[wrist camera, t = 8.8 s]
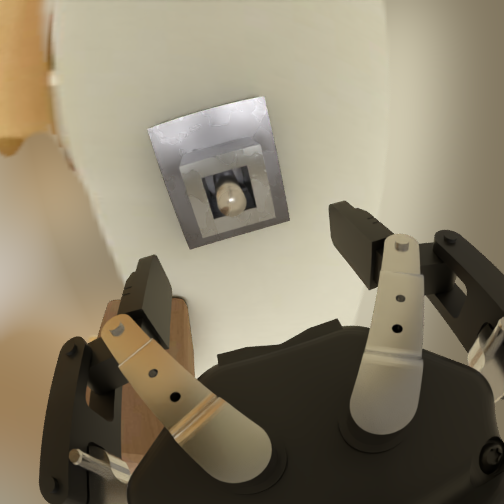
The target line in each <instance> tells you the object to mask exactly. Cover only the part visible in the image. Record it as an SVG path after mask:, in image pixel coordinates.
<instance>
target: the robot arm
mask: <svg viewBox="0 0 504 504" xmlns="http://www.w3.org/2000/svg"><path fill="white" fill-rule="evenodd" d="M329 219H330V231H331V238H332V242H333V244H334V246H335V247H336V249H337V250H338V251H339V252H340V254H341V255H342V256H343V257H344V259H345V260H346V261H347V262H348V264H349V265H350V266H351V267H352V269H353V270H354V271H355V272H356V274H357V275H358V276H359V278H360V279H361V280H362V281H363V283H364V284H365V285H366V287H367V288H368V289H369V290H371V289H374V288H376V287H378V289H377V295H376V301H375V306H374V311H373V316H372V321H371V326H370V328H367V327H361V326H341V324H340V322H339V320H338V319H334V320H332V321H329V322H326V323H323V324H320V325H317V326H314V327H311V328H309V329H307V330H305V331H303V332H302V333H300V334H298V335H296V336H295V337H293V338H291V339H289V340H288V341H286V342H284V343H282V344H279V345H269V346H255V347H245V348H241V349H238V350H234V351H230V352H226V353H222V354H218V355H217V358H218V364H217V365H215V366H213V367H212V368H210V369H208V370H207V371H206V372H204V373H203V374H202V375H201V376H200V377H199V378H198V379H196V378H195V377H194V376H192V375H191V374H190V373H189V372H188V371H187V370H186V369H185V368H184V367H182V366H181V365H180V364H179V363H178V362H177V361H176V360H175V359H174V358H173V357H172V356H171V355H170V354H169V353H168V352H167V351H165V350H166V349H169V342H170V321H171V305H172V288H171V285H170V282H169V280H168V278H167V276H166V274H165V272H164V270H163V268H162V265H161V263H160V261H159V259H158V257H157V256H156V255H151V256H148V257H145V258H142V259H139V262H138V265H137V269H136V272H133V273H132V274H131V275H130V276H129V278H128V279H127V281H126V284H125V287H124V291H123V294H122V295H123V296H122V298H121V301H120V305H119V309H118V312H117V316H114V317H113V318H111V319H110V320H109V321H107V322H106V324H105V325H104V327H103V328H102V331H101V337H100V338H98V339H96V340H94V341H92V342H90V343H88V344H87V343H86V341H85V340H84V339H83V338H82V337H74V338H71V339H70V340H68V341H67V342H66V343H65V344H64V345H63V347H62V349H61V351H60V354H59V357H58V361H57V365H56V368H55V373H54V377H53V381H52V385H51V390H50V394H49V399H48V405H47V410H46V416H45V422H44V429H43V437H42V445H41V456H40V473H39V486H40V491H41V494H42V495H43V497H44V499H45V500H46V501H47V502H49V503H50V504H504V442H503V441H502V439H501V437H500V435H499V431H498V427H497V422H496V417H495V402H497V401H498V400H499V399H504V275H503V274H502V273H501V272H500V271H499V270H498V269H497V268H496V267H495V266H494V265H493V264H492V263H491V262H490V261H489V260H488V259H487V258H486V257H485V256H484V255H482V253H480V252H479V251H478V250H477V249H476V248H475V247H474V246H473V245H471V244H470V243H469V242H468V241H467V240H466V239H464V238H463V237H462V236H461V235H460V234H458V233H456V232H454V231H450V230H441V231H438V232H437V233H436V234H435V237H434V242H433V243H423V244H418V242H417V241H416V239H414V238H413V237H411V236H409V235H406V234H394V233H392V232H391V231H390V230H389V229H388V228H386V227H385V226H384V225H383V224H382V223H381V222H379V221H378V220H377V219H376V218H374V217H373V216H372V215H371V214H370V213H368V212H367V211H364V210H362V209H359V208H356V209H355V208H354V207H353V206H351V205H350V204H349V203H348V202H346V201H341V202H337V203H333V204H330V205H329ZM456 276H458V277H459V278H460V279H461V281H462V282H463V283H464V284H465V286H466V289H467V296H466V295H465V294H464V293H463V291H462V290H461V289H460V288H459V287H458V286H457V285H456V283H455V280H456ZM424 295H426V296H427V297H428V298H429V300H430V301H431V302H432V304H433V305H434V306H435V308H436V309H437V310H438V311H439V313H440V314H441V316H442V317H443V318H444V320H445V321H446V322H447V324H448V325H449V326H450V328H451V329H452V330H453V332H454V333H455V335H456V336H457V338H458V339H459V341H460V342H461V344H462V345H463V347H464V348H465V350H466V351H467V352H468V363H469V366H467V365H464V364H462V363H459V362H456V361H454V360H451V359H448V358H446V357H443V356H440V355H438V354H435V353H433V352H430V351H427V350H425V349H422V345H423V329H424ZM127 383H130V384H131V386H132V387H133V388H134V390H135V391H136V392H137V393H138V395H139V396H140V397H141V399H142V400H143V401H144V402H145V404H146V405H147V406H148V407H149V409H150V410H151V411H152V412H153V414H154V415H155V416H156V417H157V418H158V419H159V421H160V422H161V423H162V424H163V425H164V428H163V429H162V431H161V432H160V434H159V435H158V437H157V438H156V440H155V441H154V442H153V444H152V445H151V447H150V448H149V450H148V451H147V453H146V454H145V456H144V457H143V458H142V460H141V461H140V463H139V464H138V466H137V467H136V469H135V470H134V471H133V473H132V474H130V471H129V468H128V466H127V464H126V463H125V462H124V461H123V460H122V455H121V407H122V386H123V385H125V384H127ZM87 386H88V387H89V388H90V389H91V392H90V401H89V406H88V404H87V402H86V389H87Z"/></svg>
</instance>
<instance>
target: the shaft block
mask: <svg viewBox="0 0 504 504" xmlns="http://www.w3.org/2000/svg"><path fill="white" fill-rule="evenodd" d="M147 131H148V134H149V137H150V140H151V143H152V146H153V149H154V152H155V155H156V158H157V161H158V164H159V167H160V170H161V173H162V176H163V179H164V182H165V185H166V187H167V190H168V193H169V196H170V199H171V201H172V204H173V207H174V210H175V212H176V215H177V218H178V220H179V223H180V226H181V228H182V231H183V233H184V236H185V238H186V241H187V244H188V246H189V249H193V248H197V247H200V246H203V245H207V244H210V243H214V242H217V241H220V240H224V239H227V238H231V237H234V236H237V235H241V234H244V233H248V232H251V231H255V230H258V229H262V228H265V227H269V226H272V225H276V224H279V223H283V222H287V221H290V218H289V213H288V207H287V202H286V196H285V191H284V186H283V181H282V176H281V171H280V166H279V161H278V156H277V151H276V146H275V141H274V137H273V132H272V128H271V123H270V118H269V114H268V110H267V105H266V101H265V97H264V96H261V97H255V98H250V99H246V100H241V101H237V102H233V103H229V104H225V105H221V106H217V107H213V108H209V109H206V110H202V111H199V112H195V113H192V114H189V115H185V116H182V117H179V118H176V119H173V120H170V121H167V122H164V123H161V124H159V125H156V126H153V127H150V128H148V129H147ZM244 137H250V138H251V139H253V140H254V141H256V142H257V143H259V144H260V145H261V149H262V154H263V158H264V163H265V167H266V172H267V177H268V182H269V186H270V191H271V196H272V201H273V206H274V211H275V216H276V218H272V219H269V220H265V221H261V222H258V223H254V224H251V225H247V226H243V227H240V228H236V229H233V230H229V231H226V232H222V233H219V234H216V235H212V236H209V237H205V238H203V237H202V234H201V232H200V229H199V226H198V223H197V220H196V217H195V214H194V211H193V208H192V205H191V202H190V199H189V196H188V193H187V190H186V187H185V184H184V181H183V178H182V175H181V172H180V169H179V166H180V163H181V160H182V157H183V154H186V153H189V152H193V151H196V150H199V149H203V148H206V147H210V146H213V145H217V144H220V143H224V142H228V141H232V140H236V139H240V138H244ZM205 179H206V182H207V185H208V189H209V192H210V195H211V197H212V196H216V197H217V203H218V208H219V210H220V211H221V213H223V214H224V215H226V216H229V217H234V216H237V215H239V214H241V213H242V212H243V211H244V210H245V208H246V203H247V202H246V198H245V196H244V194H243V191H242V189H241V188H245V187H246V185H245V181H244V177H243V173H242V169H241V167H239V168H235V169H231V170H228V171H224V172H220V173H217V174H213V175H210V176H207V177H205Z"/></svg>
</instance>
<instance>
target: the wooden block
mask: <svg viewBox="0 0 504 504" xmlns="http://www.w3.org/2000/svg"><path fill="white" fill-rule="evenodd" d="M120 301H121V300H113V301H111V302H109V303H108V305H107V308H106V311H105V314H104V317H103V321H102V324H101V327H100V330H99V334H98V337H97V339H98V338H100V337H101V331H102V328H103V327H104V325H105V324H106V322H107V321H109V320H110V319H111V318H113V317H114V316H117V312H118V309H119V305H120ZM165 351H167V352H168V353H169V354H170V355H171V356H172V357H173V358H174V359H175V360H176V361H177V362H178V363H179V364H180V365H181V366H182V367H184V368H185V369H186V370H187V371H188V372H189V373H190V374H191V375H192V376H194V377H195V372H194V351H193V344H192V337H191V330H190V323H189V315H188V307H187V305H186V303H185V302H184V300H183V299H179V298H173V299H172V305H171V321H170V342H169V349H166V350H165ZM90 392H91V389H90V388H89V387H88V386H87V389H86V402H87V404H88V406H89V401H90ZM163 428H164V425H163V424H162V423H161V422H160V421H159V419H158V418H157V417H156V416H155V415H154V414H153V412H152V411H151V410H150V409H149V407H148V406H147V405H146V404H145V402H144V401H143V400H142V399H141V397H140V396H139V395H138V393H137V392H136V391H135V390H134V388H133V387H132V386H131V384H130V383H127V384H125V385H123V386H122V407H121V455H122V460H123V461H124V462H125V463H126V464H127V466H128V468H129V471H130V474H132V473H133V471H134V470H135V469H136V467H137V466H138V464H139V463H140V461H141V460H142V458H143V457H144V456H145V454H146V453H147V451H148V450H149V448H150V447H151V445H152V444H153V442H154V441H155V440H156V438H157V437H158V435H159V434H160V432H161V431H162V429H163Z"/></svg>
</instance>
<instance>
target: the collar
mask: <svg viewBox="0 0 504 504" xmlns="http://www.w3.org/2000/svg"><path fill="white" fill-rule="evenodd" d="M239 167H241V169H242V173H243V177H244V181H245V185H246V187H245V188H241V189H242V191H243V194H244V196H245V198H246V202H247V203H246V208H245V210H244V211H243V212H242V213H241V214H239V215H237V216H234V217H229V216H226V215H224V214H223V213H221V211H220V210H219V208H218V203H217V197H216V196H212V197H211V195H210V192H209V189H208V185H207V182H206V179H205V177H207V176H210V175H213V174H217V173H220V172H224V171H228V170H231V169H235V168H239ZM179 169H180V172H181V175H182V178H183V181H184V184H185V187H186V190H187V193H188V196H189V199H190V202H191V205H192V208H193V211H194V214H195V217H196V220H197V223H198V226H199V229H200V232H201V234H202V237H203V238H205V237H209V236H212V235H216V234H219V233H222V232H226V231H229V230H233V229H236V228H240V227H243V226H247V225H251V224H254V223H258V222H261V221H265V220H269V219H272V218H276V216H275V211H274V206H273V201H272V196H271V191H270V186H269V182H268V177H267V172H266V167H265V163H264V158H263V154H262V149H261V145H260V144H259V143H257V142H256V141H254V140H253V139H251V138H250V137H244V138H240V139H236V140H232V141H228V142H224V143H220V144H217V145H213V146H210V147H206V148H203V149H199V150H196V151H193V152H189V153H186V154H183V157H182V160H181V163H180V166H179Z"/></svg>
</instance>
